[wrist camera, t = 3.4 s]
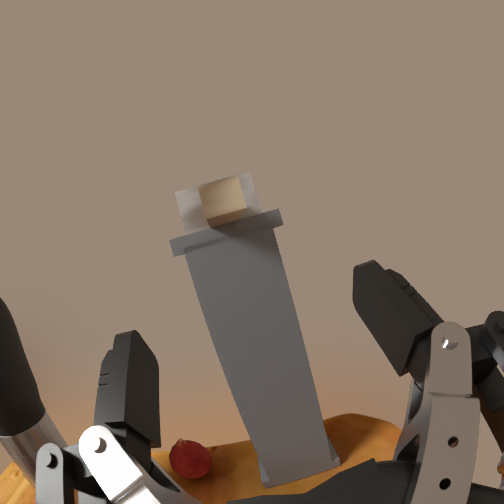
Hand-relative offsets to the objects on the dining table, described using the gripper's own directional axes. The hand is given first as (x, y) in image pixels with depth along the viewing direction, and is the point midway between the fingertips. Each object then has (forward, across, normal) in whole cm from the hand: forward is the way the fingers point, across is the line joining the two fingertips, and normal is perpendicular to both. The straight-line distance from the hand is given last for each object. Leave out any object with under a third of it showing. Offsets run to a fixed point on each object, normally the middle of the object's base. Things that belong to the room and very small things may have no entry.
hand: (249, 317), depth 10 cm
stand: (+2, 0, +33) cm, 33 cm away
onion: (+3, +14, +34) cm, 37 cm away
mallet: (+14, 0, +3) cm, 15 cm away
